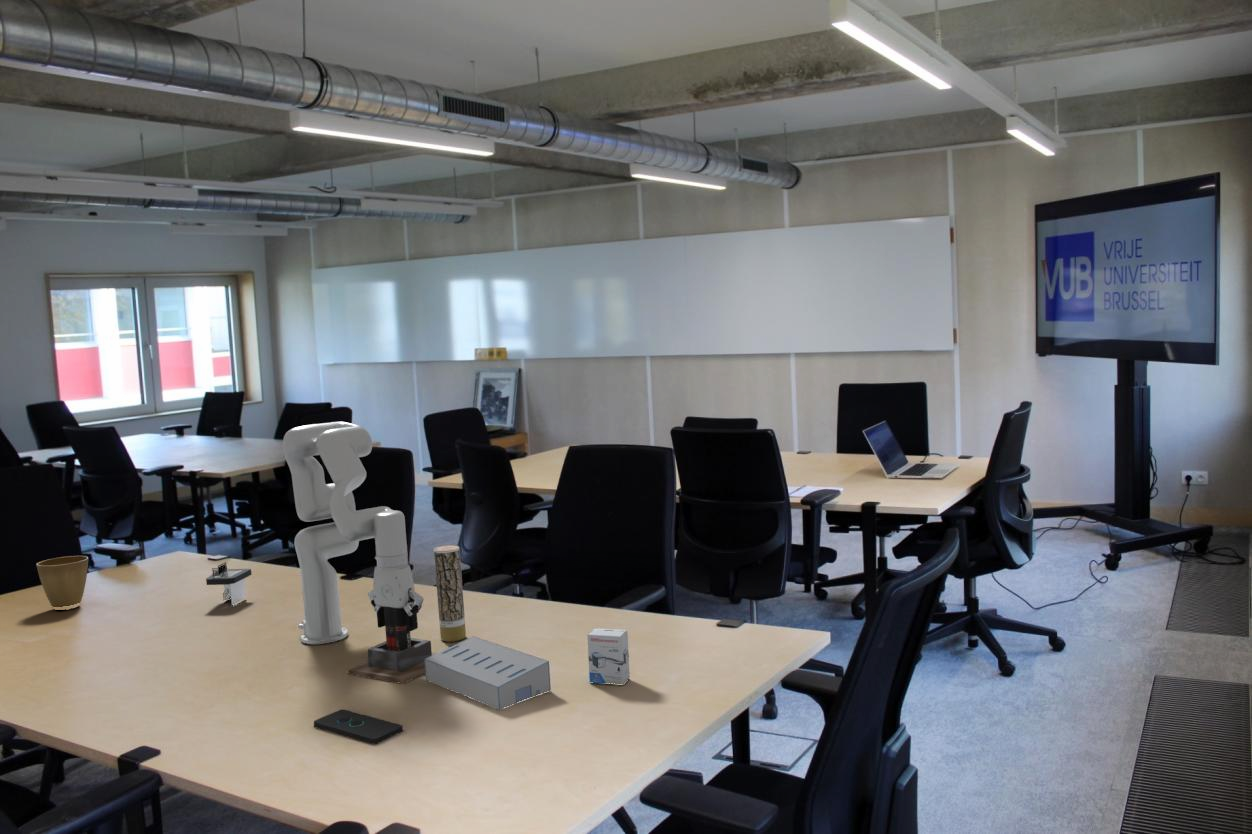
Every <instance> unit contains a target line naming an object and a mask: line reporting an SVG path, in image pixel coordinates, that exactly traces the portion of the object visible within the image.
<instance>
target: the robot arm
mask: <svg viewBox="0 0 1252 834" xmlns="http://www.w3.org/2000/svg"><path fill="white" fill-rule="evenodd" d="M372 449H373V439H372V436H371V435H370V433H369V431H368V430H367V429H366V428H365V427H363V426H362V425H359V424H354V423H350V422H346V421H331V422H323V423H312V424H306V425H301V426H296V427H293V428H291V429H289V430H288V431H286V432H285V434H284V435H283V440H282V450H283V455H284V458H285V460H286V463H287V465H288V468H289V471H290V474H291V482H292V488H293V489H292V490H293V497H294V504H295V510H296V514H297V517H298V518H299V520H300V521H303V522H308V523H309V522H315V521H323V520H328V519H332V520H333V521H334V522H329V523H323V524H317V525H313V526H308V527H306V528H303V529H300V530H299V532H298V533H297V534H296V535H295V537H294V549H295V552H296V556H297V560H298V564H299V570H300V578H301V587H302V588H301V589H302V598H303V599H302V600H303V601H302V602H303V610H304V619H303V620H302V621H301V623H299V624H298V626H297V628H298V629H299V630H303V634H301V636H300V641H301V643H302V644H303V643H304V644H305V643H306V645H324V644H325V643H326V644H331V643H335V642H338V640H339V641H341V640H343V639H345V638H347V636H348V635H349V630H348V629H347V628H346V627H342V616H341V604H340V603H341V602H340V591H339V581H338V579H339V577H338V574H337V571H336V569H335V568H334V567H333V566H332V565H331V564H330V562H329V561H328V560H329V559H332V558H336V557H340V556H345V555H349V554H352V553H354V552H355V551H356V550H357V549H358V547H359V543H360V541H364V540H369V539H370V540H371V539H374V540H375V541H374V543H375V556H374V560H376V566H374V571H373V590H371V591H369V592H368V593H367V596H368V598H369V600H370V604H371V605H372V607H373V609H374V611H375V612H376V621H377V628H383V627H385V616H384V607H391V608H397V609H401V608H404V609H405V611H406V612H407V614H408V615H407V616H406V621H407V631H409V632H410V633H411V632H413V631H414V630H417V629H418V627H419V626H418V613H419V612H420V610H421V609H422V607H423V606H422V605H423V603H424V601H425V600H424V597H423V596H421V595H420V594H419V593H418V592H416V590H415V582H414V579H413V578H414V577H413V573H412V569H411V566H410V565H409V557H408V544H407V543H408V542H407V533H406V519H405V518H406V517H405V515H404V513H403V512H402V511H401V510H397V509H396V510H394V509H391V507H389V506H385V505H384V506H383V505H381V506H377V507H376V506H375V507H371V508H365V509H364V508H363V509H359V510H357V509H356V502H355V496H354V494H353V491H354V490H356V489H357V488H359V487H361V485H362V484H363V483H364V481H365V480H366V478H367V471H366V469H365V467H364V465H363V462H362V460H361V459H360V458H363V457H366V456H368V455H370V454H371V452H372ZM314 456H320V458H321V460H322V462H323V465H324V466H325V468H326V470H327V472H328V474H329V475H330V478H331V480H332V482H333V483H332V482H331V483H326V480H325V471H324V467H323V466H322V464H320V462H319V461H318V460H317V459H316V458H315V457H314ZM407 602H408V603H407ZM330 642H331V643H330Z"/></svg>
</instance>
